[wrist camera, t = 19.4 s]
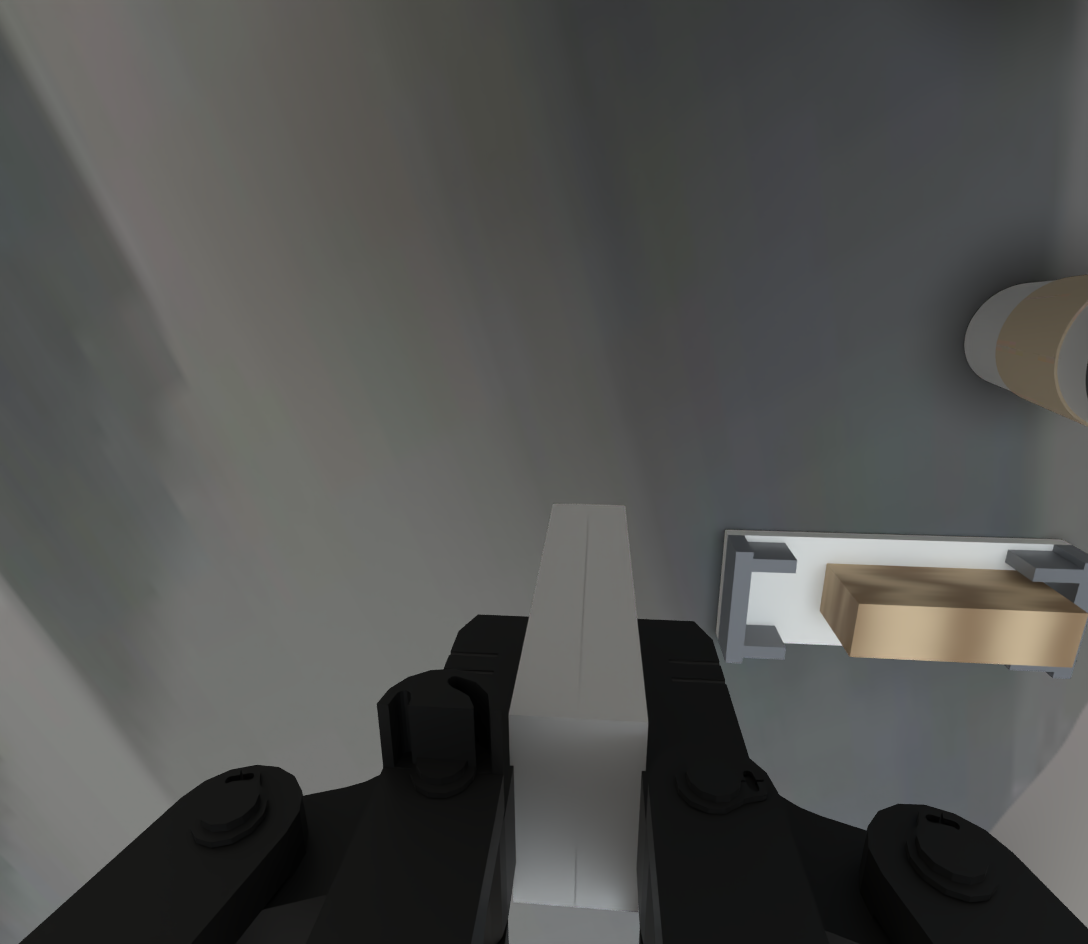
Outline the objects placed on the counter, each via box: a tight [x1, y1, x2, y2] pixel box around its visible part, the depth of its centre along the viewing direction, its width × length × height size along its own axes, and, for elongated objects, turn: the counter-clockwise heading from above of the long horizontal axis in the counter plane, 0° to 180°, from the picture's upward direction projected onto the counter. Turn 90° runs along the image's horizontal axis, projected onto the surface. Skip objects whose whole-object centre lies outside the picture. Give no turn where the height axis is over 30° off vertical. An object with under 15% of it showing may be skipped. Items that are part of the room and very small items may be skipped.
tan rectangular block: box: [820, 563, 1088, 668], centre depth 43 cm, size 14×4×6 cm, turn 90°
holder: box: [716, 530, 1088, 679], centre depth 45 cm, size 9×24×4 cm, turn 90°
